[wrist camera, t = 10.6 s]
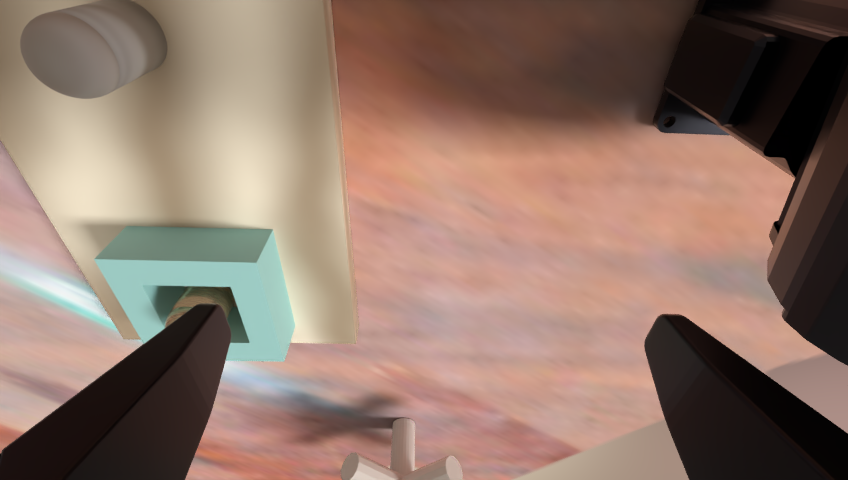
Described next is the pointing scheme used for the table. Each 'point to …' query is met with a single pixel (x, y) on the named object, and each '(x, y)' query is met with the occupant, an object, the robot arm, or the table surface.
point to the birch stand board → (186, 133)
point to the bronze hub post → (201, 300)
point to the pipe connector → (400, 461)
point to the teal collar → (203, 282)
